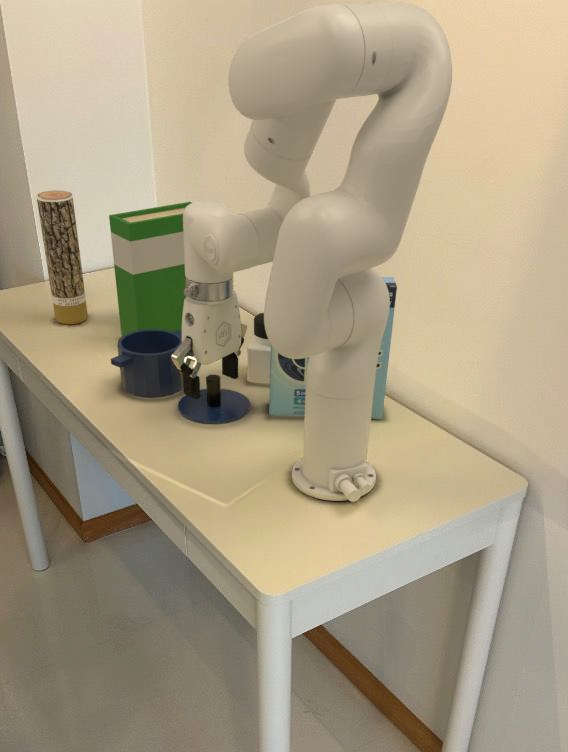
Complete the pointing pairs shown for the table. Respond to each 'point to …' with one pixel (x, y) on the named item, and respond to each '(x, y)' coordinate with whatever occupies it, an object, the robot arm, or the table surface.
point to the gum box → (292, 373)
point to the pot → (149, 363)
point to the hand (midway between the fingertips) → (211, 386)
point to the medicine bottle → (259, 353)
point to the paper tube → (62, 256)
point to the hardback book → (149, 267)
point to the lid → (214, 404)
